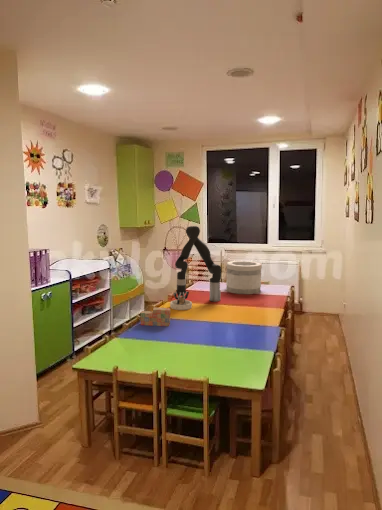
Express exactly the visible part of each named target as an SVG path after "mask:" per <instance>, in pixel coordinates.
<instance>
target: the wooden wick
mask: <svg viewBox="0 0 382 510" xmlns="http://www.w3.org/2000/svg"><path fill="white" fill-rule="evenodd" d="M180 304H184V297H182V296H180V298H179V304H178V305H180Z"/></svg>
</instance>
